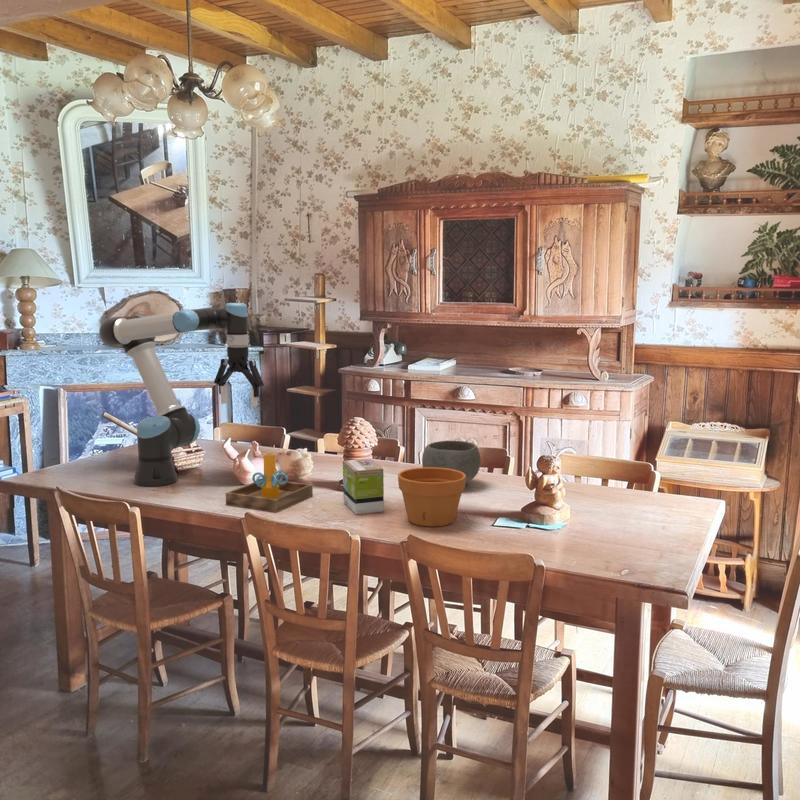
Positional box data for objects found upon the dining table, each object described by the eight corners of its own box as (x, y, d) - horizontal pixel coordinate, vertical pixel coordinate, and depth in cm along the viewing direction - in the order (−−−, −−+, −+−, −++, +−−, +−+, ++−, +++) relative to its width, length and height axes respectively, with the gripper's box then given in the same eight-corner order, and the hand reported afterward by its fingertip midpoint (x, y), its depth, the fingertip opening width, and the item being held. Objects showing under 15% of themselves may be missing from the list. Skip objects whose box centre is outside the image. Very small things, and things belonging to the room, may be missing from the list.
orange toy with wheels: (291, 493, 288) (290, 451, 285) (284, 502, 277) (283, 457, 275) (256, 493, 289) (255, 450, 287) (248, 501, 278) (247, 457, 276)
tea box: (342, 502, 281) (341, 459, 279) (370, 500, 284) (370, 457, 282) (354, 515, 267) (354, 469, 265) (384, 512, 270) (384, 467, 268)
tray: (226, 504, 278) (225, 492, 277) (264, 489, 297) (264, 478, 297) (276, 512, 269) (275, 500, 269) (312, 496, 289) (312, 484, 288)
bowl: (453, 475, 318) (454, 437, 316) (492, 487, 302) (493, 446, 299) (410, 484, 305) (410, 443, 303) (447, 496, 289) (448, 453, 287)
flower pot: (403, 509, 274) (404, 464, 271) (468, 512, 270) (468, 467, 268) (392, 528, 253) (392, 480, 251) (461, 532, 249) (462, 484, 247)
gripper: (203, 345, 302) (205, 403, 306) (260, 348, 291) (261, 408, 295) (216, 343, 309) (218, 400, 312) (272, 346, 298) (273, 405, 301)
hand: (239, 404), depth 303 cm, fingers open, 13 cm apart
